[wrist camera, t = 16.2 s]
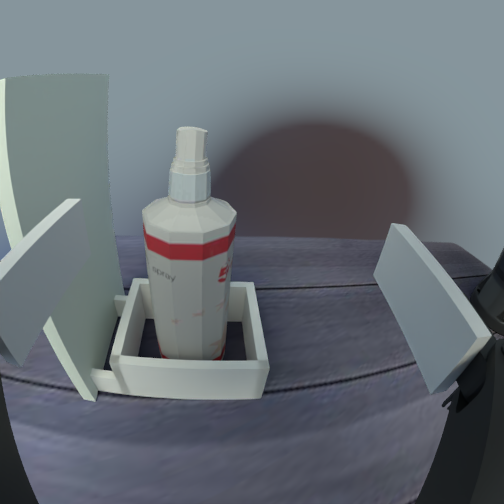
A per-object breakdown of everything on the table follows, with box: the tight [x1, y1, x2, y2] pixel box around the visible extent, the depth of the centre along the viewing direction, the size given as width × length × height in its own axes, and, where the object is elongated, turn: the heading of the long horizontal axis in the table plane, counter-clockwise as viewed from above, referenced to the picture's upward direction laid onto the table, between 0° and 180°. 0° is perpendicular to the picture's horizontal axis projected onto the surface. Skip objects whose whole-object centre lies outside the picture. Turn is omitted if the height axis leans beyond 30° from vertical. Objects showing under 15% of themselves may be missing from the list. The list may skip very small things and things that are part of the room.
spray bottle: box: [142, 127, 237, 361], centre depth 26 cm, size 8×8×25 cm
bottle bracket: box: [0, 74, 270, 402], centre depth 25 cm, size 20×18×30 cm
